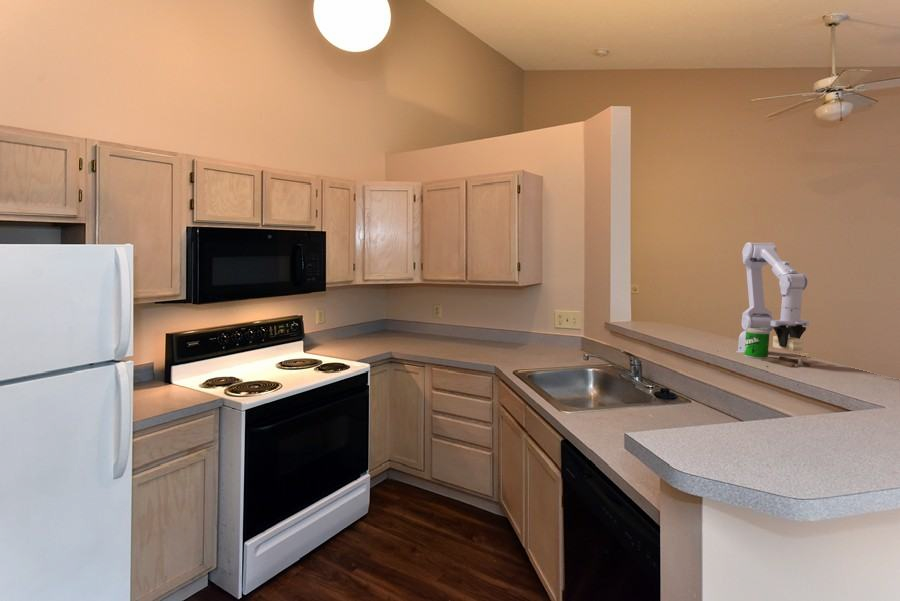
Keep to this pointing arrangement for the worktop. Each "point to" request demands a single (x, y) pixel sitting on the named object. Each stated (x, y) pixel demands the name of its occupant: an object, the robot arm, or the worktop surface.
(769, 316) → the robot arm
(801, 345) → the birch bar
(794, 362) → the cradle
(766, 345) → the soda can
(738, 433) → the worktop surface
